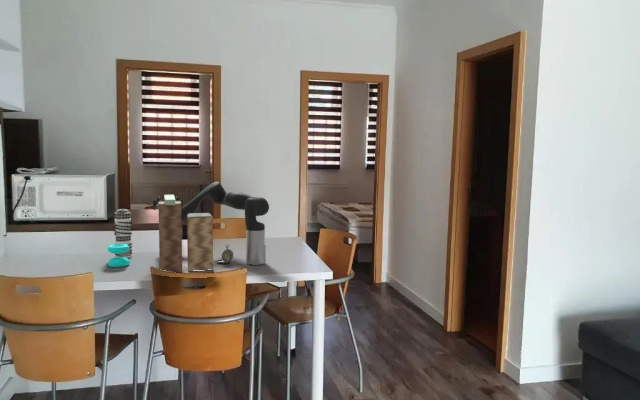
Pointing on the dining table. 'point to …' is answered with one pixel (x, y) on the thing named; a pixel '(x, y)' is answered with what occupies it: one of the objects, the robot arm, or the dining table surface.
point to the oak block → (200, 241)
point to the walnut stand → (170, 236)
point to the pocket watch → (226, 255)
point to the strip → (169, 199)
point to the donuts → (118, 260)
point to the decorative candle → (123, 231)
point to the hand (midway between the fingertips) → (168, 198)
